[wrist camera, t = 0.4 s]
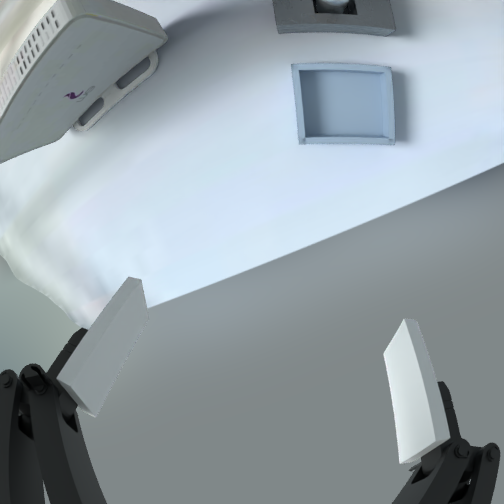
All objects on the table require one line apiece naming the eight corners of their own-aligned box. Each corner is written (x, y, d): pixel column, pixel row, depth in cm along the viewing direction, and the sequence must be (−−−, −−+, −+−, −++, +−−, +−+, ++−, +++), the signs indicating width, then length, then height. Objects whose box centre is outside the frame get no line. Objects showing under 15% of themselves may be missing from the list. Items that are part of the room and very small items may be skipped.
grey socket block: (278, 33, 26) (276, 25, 23) (270, -15, 22) (267, -26, 19) (386, 36, 24) (395, 30, 20) (376, -12, 20) (383, -22, 16)
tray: (298, 141, 33) (299, 144, 31) (291, 67, 28) (290, 64, 26) (387, 141, 31) (394, 145, 29) (383, 69, 26) (390, 67, 24)
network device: (71, 148, 38) (-19, 189, 21) (53, 111, 34) (-37, 139, 17) (184, 52, 29) (87, 25, 12) (159, 11, 25) (63, -26, 8)
